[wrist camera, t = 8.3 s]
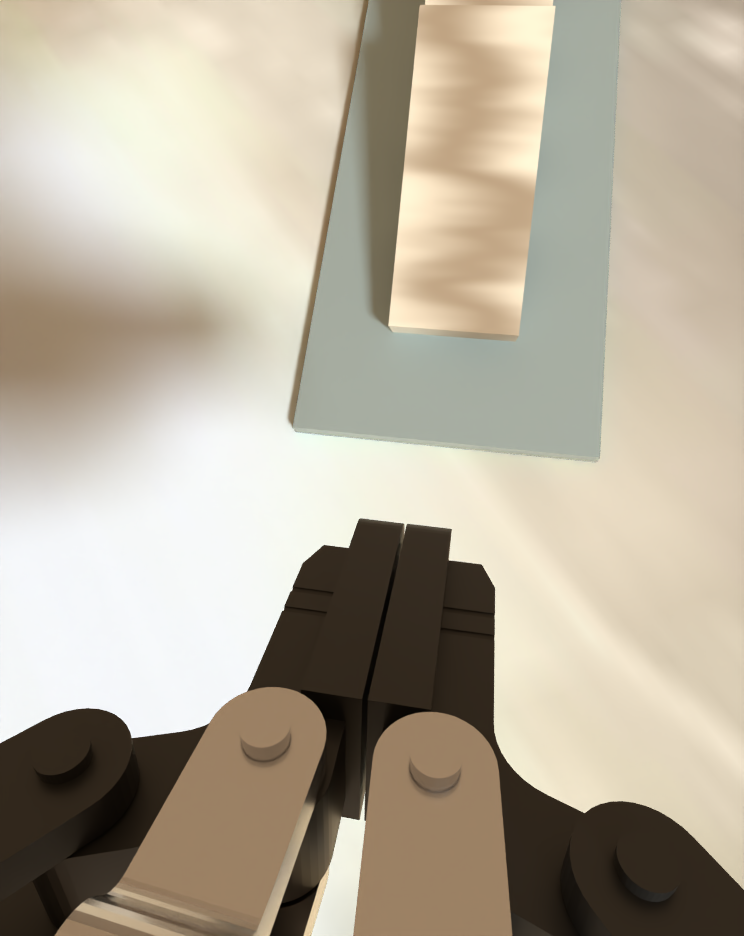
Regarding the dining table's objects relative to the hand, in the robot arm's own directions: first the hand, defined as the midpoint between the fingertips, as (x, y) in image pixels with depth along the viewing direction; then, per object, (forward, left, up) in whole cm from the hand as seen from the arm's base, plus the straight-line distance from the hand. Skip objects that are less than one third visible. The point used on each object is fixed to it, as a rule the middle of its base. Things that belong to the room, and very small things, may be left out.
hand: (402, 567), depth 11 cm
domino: (0, -11, -12) cm, 16 cm away
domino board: (0, -19, -14) cm, 24 cm away
